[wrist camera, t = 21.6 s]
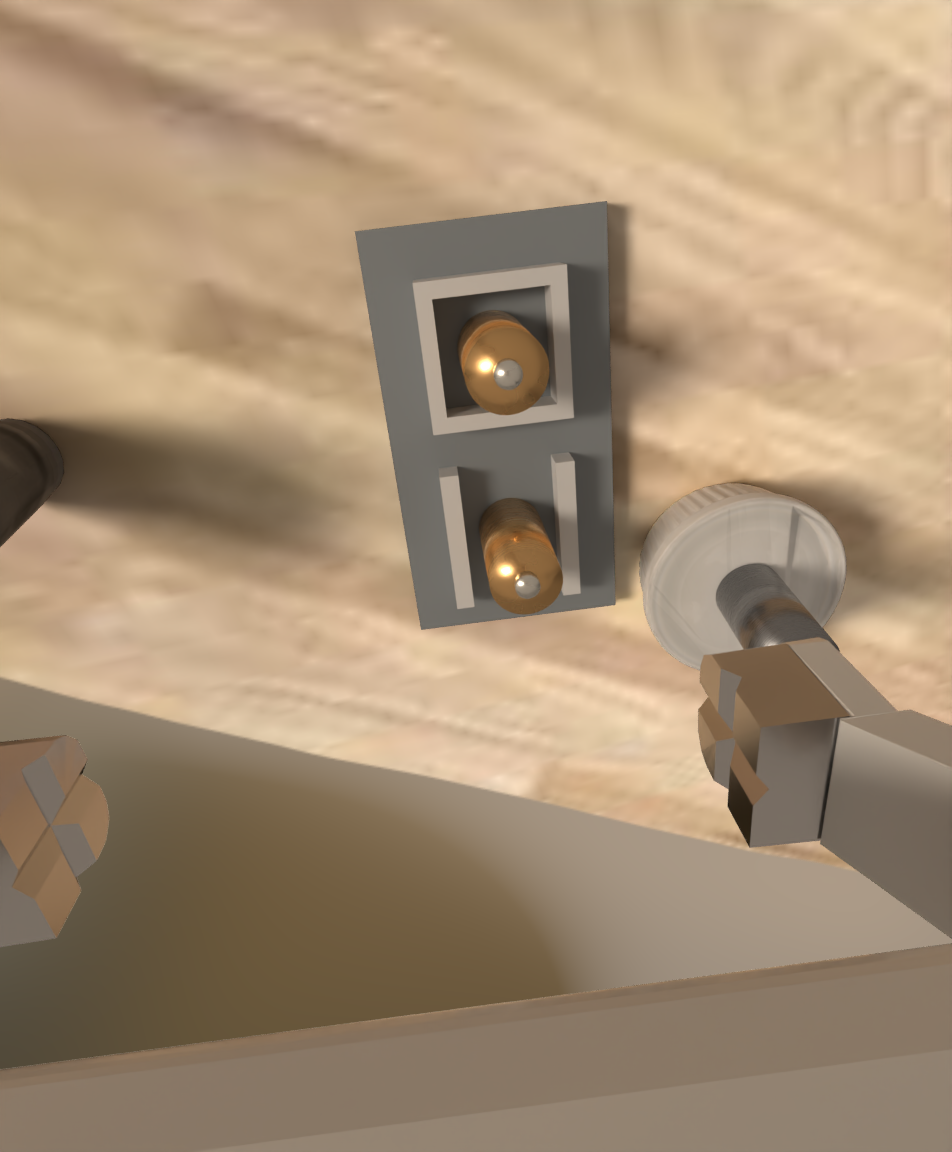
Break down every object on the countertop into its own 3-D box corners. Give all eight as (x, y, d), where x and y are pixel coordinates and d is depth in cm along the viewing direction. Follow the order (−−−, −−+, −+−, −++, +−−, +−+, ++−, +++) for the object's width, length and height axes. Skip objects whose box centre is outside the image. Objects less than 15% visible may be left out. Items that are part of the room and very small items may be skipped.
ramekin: (832, 563, 45) (880, 603, 40) (681, 660, 47) (710, 708, 42) (750, 427, 40) (793, 454, 36) (589, 542, 43) (609, 581, 38)
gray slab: (357, 231, 34) (351, 231, 31) (601, 201, 34) (617, 199, 32) (421, 619, 44) (421, 647, 41) (610, 595, 44) (623, 621, 41)
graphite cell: (755, 551, 38) (817, 625, 31) (795, 591, 39) (862, 672, 32) (702, 594, 39) (750, 675, 32) (742, 632, 40) (796, 718, 33)
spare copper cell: (475, 502, 40) (486, 559, 33) (538, 493, 40) (563, 548, 33) (482, 559, 41) (494, 625, 34) (543, 551, 41) (567, 615, 35)
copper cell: (444, 361, 36) (449, 393, 29) (479, 295, 35) (492, 312, 28) (504, 395, 37) (523, 433, 30) (540, 332, 36) (568, 357, 29)
